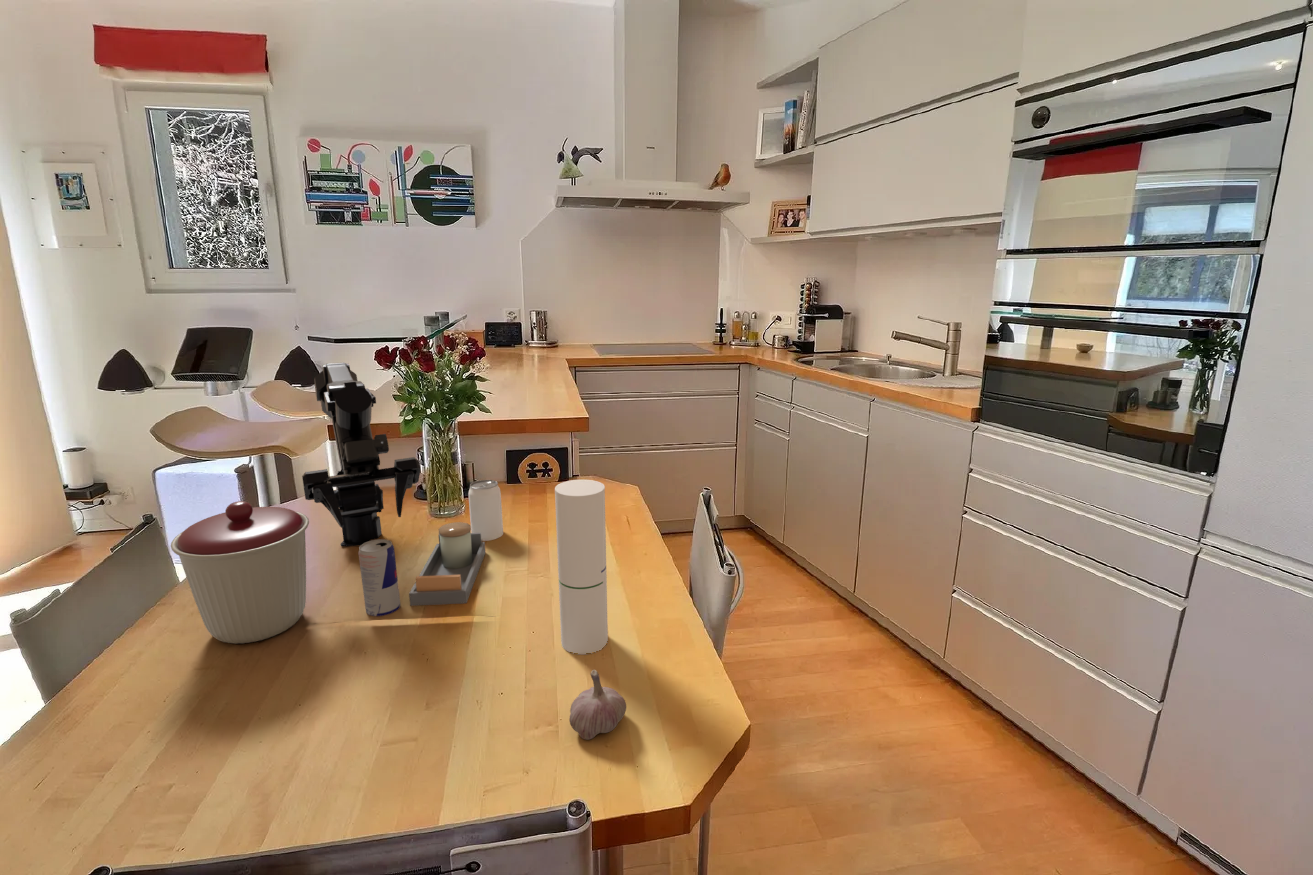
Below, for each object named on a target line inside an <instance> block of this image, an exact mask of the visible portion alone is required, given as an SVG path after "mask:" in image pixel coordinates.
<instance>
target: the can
mask: <svg viewBox="0 0 1313 875" xmlns="http://www.w3.org/2000/svg"><path fill="white" fill-rule="evenodd" d="M498 484H499V482H498V481H497V480H493V479H482V480H481V479H480V480H476V481H473V482H471V483H470V484H469V490H468V492H467V493H468V504H469V518H470V519H469V520H470V526H471V533H481V540H482V542H486V541H487V542H488V541H492V540H493V541H494V540H497V539H499V538H501V537H502V536H503V535H504V525H503V524H504V522H503V508H502V497H501V496H502V494H501V488H500V487H499V485H498Z"/></svg>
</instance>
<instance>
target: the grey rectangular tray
mask: <svg viewBox="0 0 1313 875" xmlns="http://www.w3.org/2000/svg"><path fill="white" fill-rule="evenodd" d="M437 537H438V543H436V545H435V547H434V548H433V550H432V552H431V553H430V555H429V557H428V559H427V560H426V563H425V565H424V566H423V568H422V570H421V571H420V574H419V575H418V576H437V575H461V587H462V590H442V591H418V592H417V588H416V581H415V583H414V584H413V586H412V587H411V589H410V591H409V592H408V596H409V606H410V607H411V606H413V607H414V606H416V607H417V606H433V605H458V604H459V605H460V604H467V603H468V600H469V597H470V594H471V592H472V589H473V587H474V585H475V582H476V579H477V576H478V573H479V571H480V569H481V566H482V563H483V560H484V558H485V555H486V541H482V540H481V533H471V544H472V556H473V562H472V563H471V564H470V565H468V566H466V567H463V568H458V569H449V568H446V567H444V566H443V565H442V555H441V544H440V534H439V533H438V536H437Z"/></svg>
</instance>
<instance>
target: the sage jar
mask: <svg viewBox="0 0 1313 875" xmlns="http://www.w3.org/2000/svg"><path fill="white" fill-rule="evenodd" d="M439 534H440V544H441V555H442V565H443V566H444V567H446V568H449V569H458V568H463V567H466V566H468V565H470V564H471V563H472V562H473V556H472V544H471V524H469V523H467V522H461V521H459V522H457V521H456V522H455V521H454V522H451V523H450V522H449V523H445V524H443V525H441V526H440V527H438V535H439Z"/></svg>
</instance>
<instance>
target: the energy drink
mask: <svg viewBox="0 0 1313 875" xmlns="http://www.w3.org/2000/svg"><path fill="white" fill-rule="evenodd" d="M358 548H359V550H358V552H357V553H358V562H359V568H360V569H359V570H360V578H361V583H362V584H361V585H362V592H363V599H364V600H363V601H364V606H365V613H366V614H367V615H368V616H372V617H382V616H387V615H390V614H393V613H395V612H397V611H398V610H399V609H400V608H401V598H400V597H401V596H400V589H399V582H398V581H399V580H398V572H397V563H396V562H397V561H396V554H395V546H394V545H393V542H392V540H389V539H385V538H381V539H380V538H378V539H374V540H370V541H368V542H366V543H364V544H362V545H361V546H358Z"/></svg>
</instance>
